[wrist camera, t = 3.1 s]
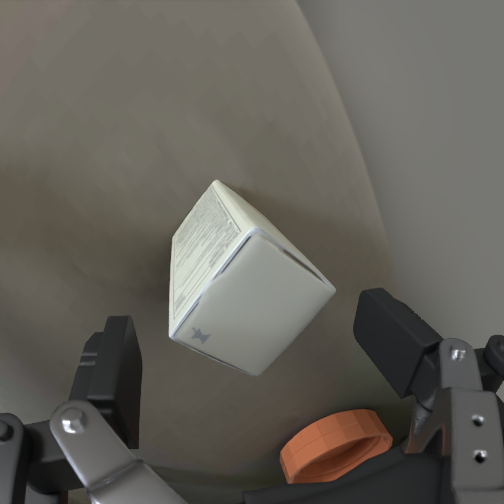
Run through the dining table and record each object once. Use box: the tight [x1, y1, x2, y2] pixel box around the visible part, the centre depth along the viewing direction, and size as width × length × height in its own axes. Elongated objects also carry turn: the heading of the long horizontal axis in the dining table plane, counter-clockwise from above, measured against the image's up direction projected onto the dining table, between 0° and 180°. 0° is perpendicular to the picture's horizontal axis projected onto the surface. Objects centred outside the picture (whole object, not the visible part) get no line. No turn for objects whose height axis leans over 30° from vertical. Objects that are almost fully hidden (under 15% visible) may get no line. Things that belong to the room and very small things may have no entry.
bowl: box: [280, 409, 393, 484], centre depth 32 cm, size 14×14×5 cm
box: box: [169, 180, 336, 377], centre depth 16 cm, size 5×4×11 cm
